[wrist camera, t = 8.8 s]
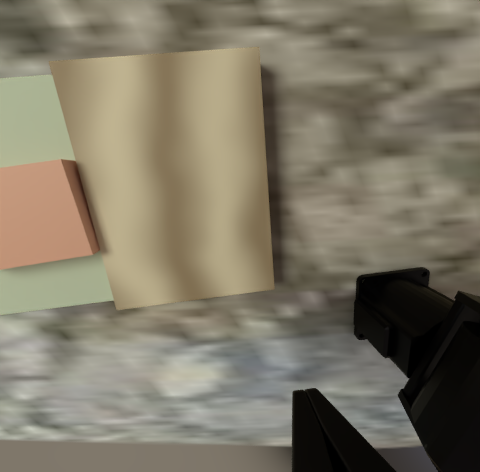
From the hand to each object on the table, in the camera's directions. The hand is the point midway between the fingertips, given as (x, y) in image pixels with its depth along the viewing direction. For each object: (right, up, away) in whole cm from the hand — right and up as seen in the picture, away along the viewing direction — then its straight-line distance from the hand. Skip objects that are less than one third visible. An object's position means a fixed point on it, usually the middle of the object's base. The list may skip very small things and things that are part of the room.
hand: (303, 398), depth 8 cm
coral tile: (-17, +7, +8) cm, 20 cm away
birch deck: (-6, +9, +9) cm, 14 cm away
